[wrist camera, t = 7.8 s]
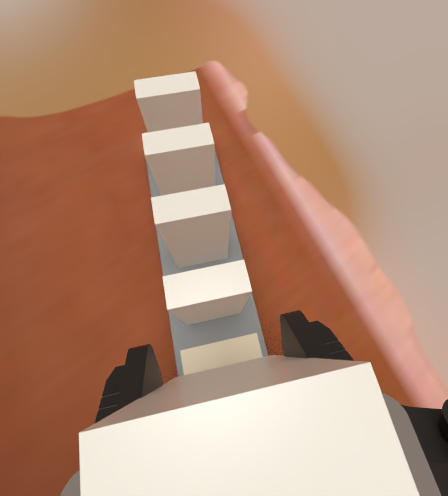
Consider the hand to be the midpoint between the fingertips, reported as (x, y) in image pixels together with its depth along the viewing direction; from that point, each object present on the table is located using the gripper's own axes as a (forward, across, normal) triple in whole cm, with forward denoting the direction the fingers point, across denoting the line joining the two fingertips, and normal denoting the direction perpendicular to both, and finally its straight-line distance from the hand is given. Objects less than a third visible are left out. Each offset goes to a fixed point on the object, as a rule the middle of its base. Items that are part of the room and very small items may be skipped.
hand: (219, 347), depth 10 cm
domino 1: (+25, 0, -4) cm, 25 cm away
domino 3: (+17, 0, +4) cm, 18 cm away
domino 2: (+21, 0, 0) cm, 21 cm away
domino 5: (+2, 0, +4) cm, 5 cm away
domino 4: (+13, 0, +8) cm, 15 cm away
